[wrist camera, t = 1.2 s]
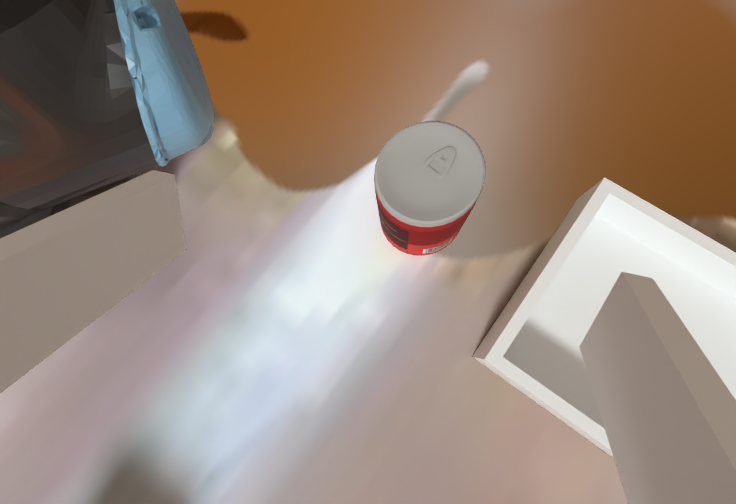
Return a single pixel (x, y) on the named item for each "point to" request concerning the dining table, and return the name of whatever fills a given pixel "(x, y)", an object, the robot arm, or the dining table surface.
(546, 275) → the tray
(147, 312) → the dining table surface
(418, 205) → the canned food
